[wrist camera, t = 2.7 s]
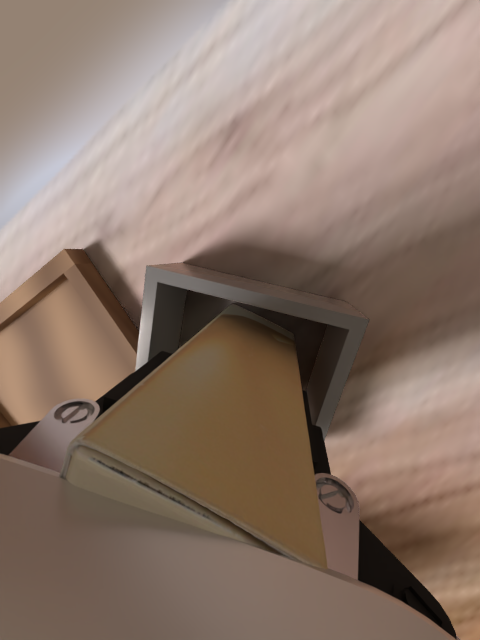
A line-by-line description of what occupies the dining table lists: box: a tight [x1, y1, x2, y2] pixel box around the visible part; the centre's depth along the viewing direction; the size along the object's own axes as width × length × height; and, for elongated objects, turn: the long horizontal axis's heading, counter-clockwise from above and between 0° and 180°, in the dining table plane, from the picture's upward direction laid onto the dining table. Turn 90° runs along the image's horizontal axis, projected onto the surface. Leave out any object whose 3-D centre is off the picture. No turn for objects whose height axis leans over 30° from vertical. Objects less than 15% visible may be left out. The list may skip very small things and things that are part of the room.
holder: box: [135, 263, 369, 440], centre depth 14 cm, size 10×10×4 cm
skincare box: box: [59, 304, 328, 569], centre depth 10 cm, size 6×4×12 cm
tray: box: [0, 249, 139, 428], centre depth 18 cm, size 15×11×1 cm
